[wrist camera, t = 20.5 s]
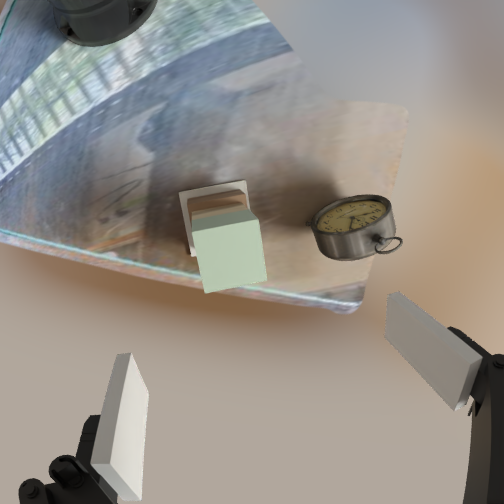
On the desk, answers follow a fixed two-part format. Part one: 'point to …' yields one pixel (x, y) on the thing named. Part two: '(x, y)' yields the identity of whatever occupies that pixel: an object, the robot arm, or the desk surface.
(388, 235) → the alarm clock
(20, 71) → the desk surface
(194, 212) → the maple brick
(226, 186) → the mat
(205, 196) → the walnut brick
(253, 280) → the sage brick
